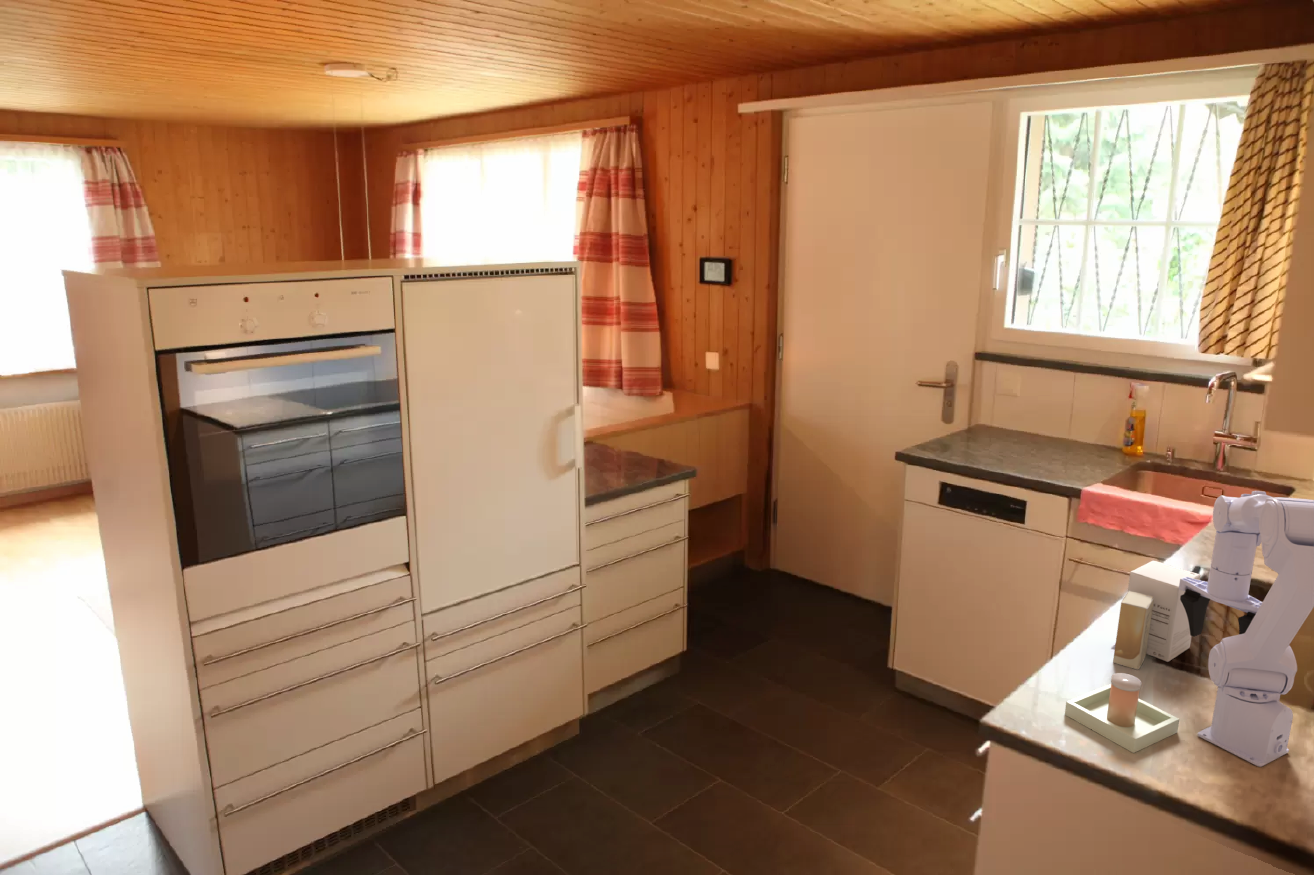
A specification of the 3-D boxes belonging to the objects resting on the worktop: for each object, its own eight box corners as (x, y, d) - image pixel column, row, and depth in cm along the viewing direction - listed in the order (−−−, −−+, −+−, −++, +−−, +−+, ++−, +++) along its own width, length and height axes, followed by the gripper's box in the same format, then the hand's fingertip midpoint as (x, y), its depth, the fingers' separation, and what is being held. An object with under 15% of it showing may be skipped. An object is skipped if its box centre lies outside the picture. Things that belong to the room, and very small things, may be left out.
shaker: (1139, 720, 142) (1145, 680, 140) (1128, 730, 139) (1134, 689, 138) (1112, 709, 145) (1118, 670, 143) (1101, 719, 143) (1106, 679, 141)
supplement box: (1142, 630, 173) (1152, 558, 169) (1190, 648, 166) (1202, 574, 162) (1118, 644, 168) (1128, 570, 164) (1167, 663, 161) (1179, 586, 157)
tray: (1177, 732, 140) (1179, 718, 139) (1133, 752, 135) (1135, 739, 134) (1107, 696, 150) (1109, 683, 150) (1064, 714, 145) (1066, 701, 144)
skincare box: (1120, 649, 166) (1128, 589, 163) (1146, 657, 163) (1155, 595, 160) (1111, 663, 161) (1120, 601, 158) (1138, 671, 158) (1147, 608, 155)
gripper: (1293, 579, 140) (1278, 656, 144) (1201, 549, 153) (1189, 621, 156) (1268, 588, 137) (1253, 667, 141) (1176, 557, 149) (1165, 630, 153)
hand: (1218, 644), depth 148 cm, fingers open, 7 cm apart
